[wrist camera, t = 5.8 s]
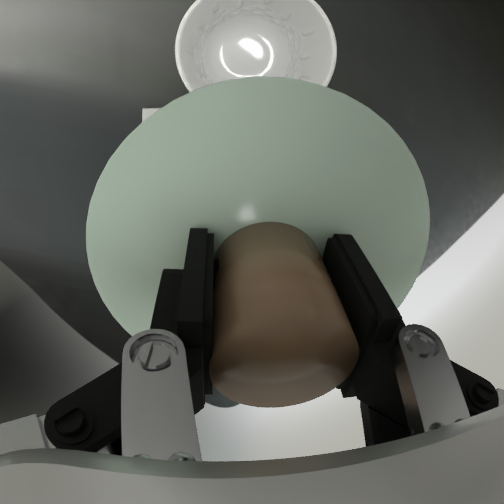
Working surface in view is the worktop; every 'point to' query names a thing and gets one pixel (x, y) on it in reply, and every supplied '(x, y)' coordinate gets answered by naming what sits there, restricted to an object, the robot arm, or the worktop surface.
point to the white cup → (255, 41)
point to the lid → (260, 225)
